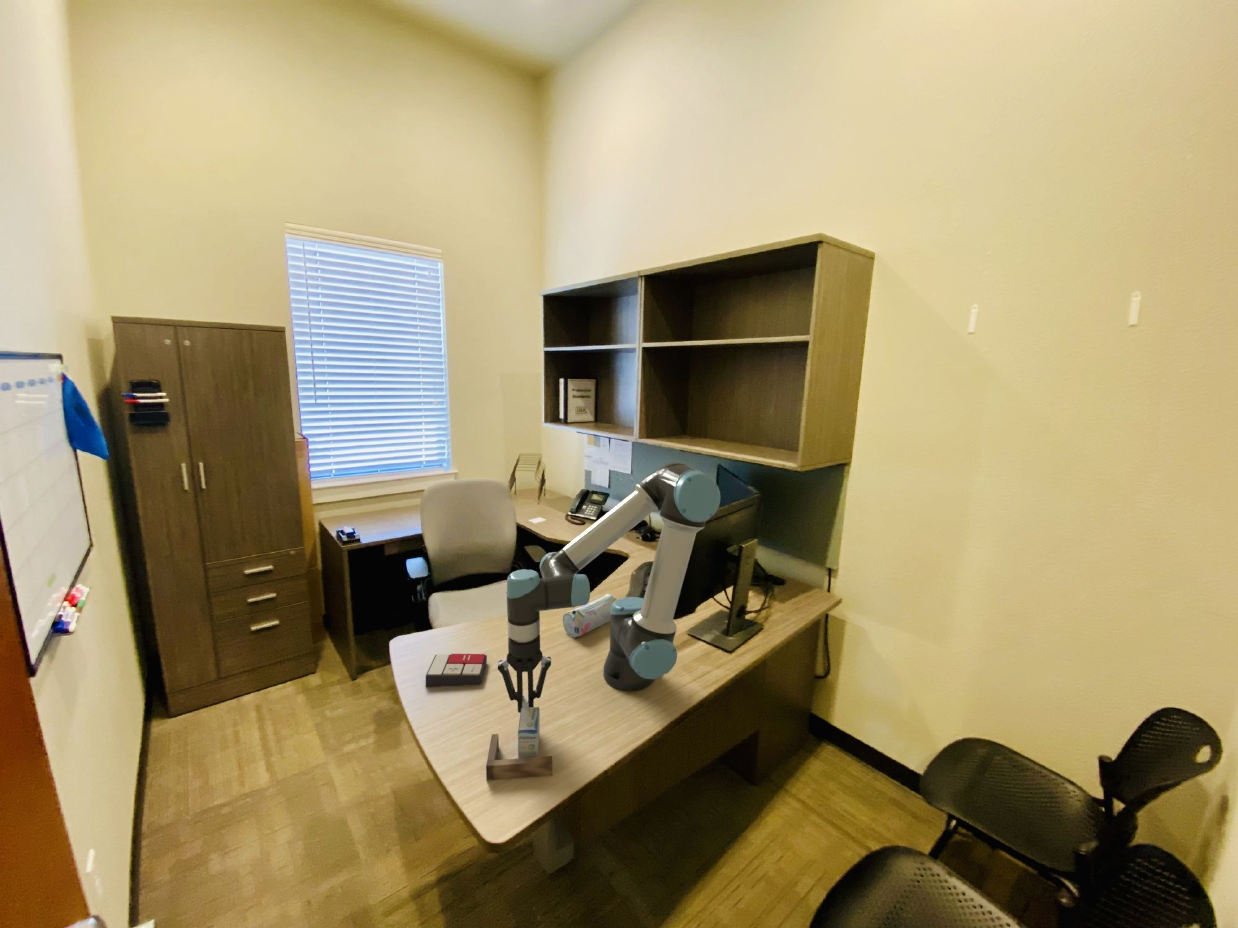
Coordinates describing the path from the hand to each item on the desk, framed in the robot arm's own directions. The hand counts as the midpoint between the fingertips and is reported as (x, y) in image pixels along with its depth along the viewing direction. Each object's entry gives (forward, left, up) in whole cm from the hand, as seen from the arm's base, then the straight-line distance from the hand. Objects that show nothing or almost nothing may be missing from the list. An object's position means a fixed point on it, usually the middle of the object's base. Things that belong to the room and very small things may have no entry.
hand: (526, 722), depth 122 cm
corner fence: (0, +11, -1) cm, 11 cm away
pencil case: (-19, -48, -2) cm, 51 cm away
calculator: (+21, -24, -2) cm, 32 cm away
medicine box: (-1, +8, -1) cm, 8 cm away
